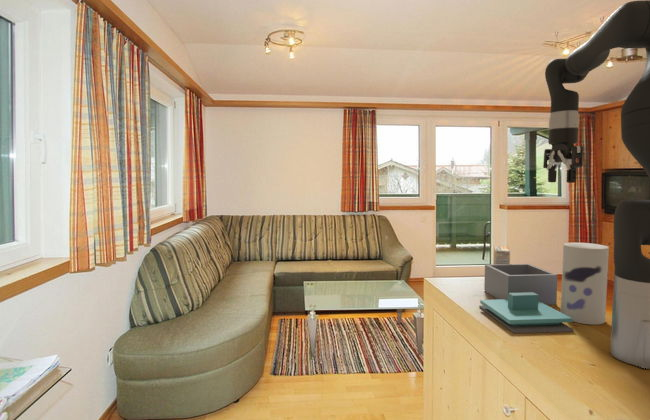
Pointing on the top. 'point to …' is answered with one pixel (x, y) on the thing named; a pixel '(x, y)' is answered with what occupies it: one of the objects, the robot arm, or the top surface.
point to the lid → (525, 310)
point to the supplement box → (501, 255)
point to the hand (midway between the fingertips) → (561, 182)
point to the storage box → (520, 281)
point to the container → (584, 282)
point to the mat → (529, 328)
